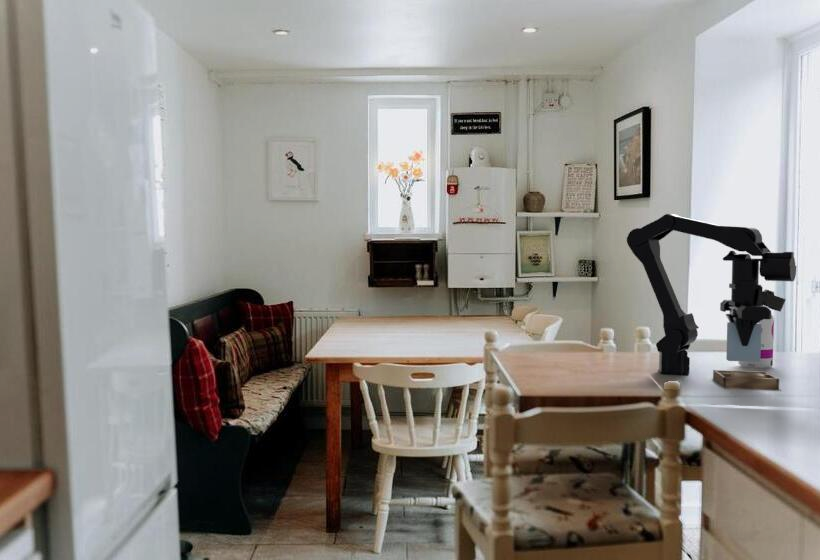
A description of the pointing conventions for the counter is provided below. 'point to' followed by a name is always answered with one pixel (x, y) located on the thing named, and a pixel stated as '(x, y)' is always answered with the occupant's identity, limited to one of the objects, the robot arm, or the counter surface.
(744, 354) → the board
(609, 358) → the counter surface
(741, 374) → the offcut upper
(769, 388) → the rack
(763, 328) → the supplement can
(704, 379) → the counter surface
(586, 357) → the counter surface
